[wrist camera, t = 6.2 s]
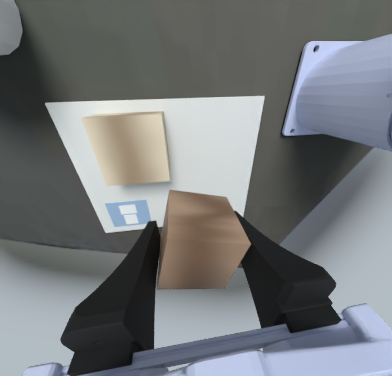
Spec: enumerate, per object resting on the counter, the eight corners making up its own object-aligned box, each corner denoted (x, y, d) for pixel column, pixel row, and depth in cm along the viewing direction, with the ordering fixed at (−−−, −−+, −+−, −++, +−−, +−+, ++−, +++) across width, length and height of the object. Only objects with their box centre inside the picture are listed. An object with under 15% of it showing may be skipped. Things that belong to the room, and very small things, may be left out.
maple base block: (163, 111, 15) (161, 114, 12) (170, 168, 18) (170, 181, 15) (97, 113, 14) (81, 117, 12) (116, 172, 17) (106, 186, 15)
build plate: (262, 95, 16) (265, 95, 15) (241, 215, 24) (243, 218, 23) (48, 102, 14) (43, 102, 13) (107, 230, 22) (105, 233, 21)
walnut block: (226, 197, 13) (251, 244, 9) (210, 236, 16) (224, 288, 12) (169, 189, 12) (167, 239, 8) (161, 233, 15) (156, 289, 11)
